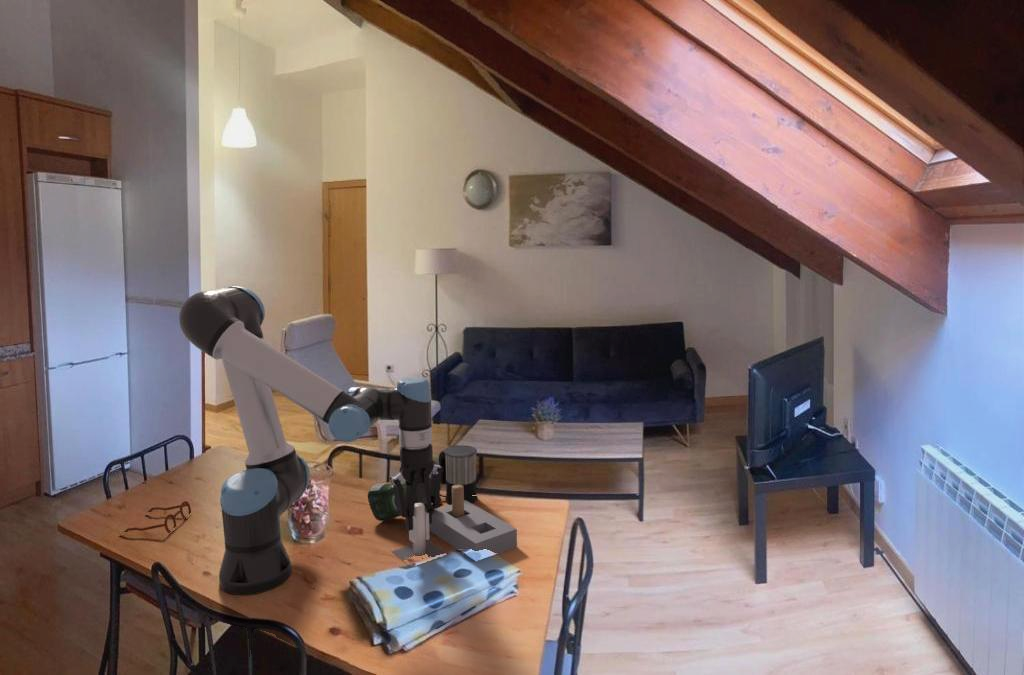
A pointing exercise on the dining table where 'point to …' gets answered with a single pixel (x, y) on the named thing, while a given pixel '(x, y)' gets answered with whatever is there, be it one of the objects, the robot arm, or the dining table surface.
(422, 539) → the peg
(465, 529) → the block
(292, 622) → the dining table surface
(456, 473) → the milk frother
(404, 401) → the robot arm
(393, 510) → the coffee jar
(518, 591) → the dining table surface
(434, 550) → the mat
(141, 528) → the glasses
